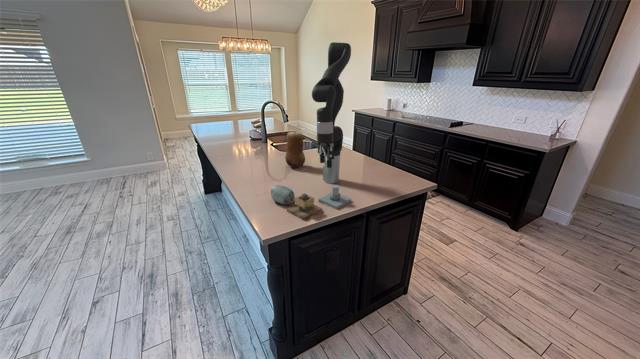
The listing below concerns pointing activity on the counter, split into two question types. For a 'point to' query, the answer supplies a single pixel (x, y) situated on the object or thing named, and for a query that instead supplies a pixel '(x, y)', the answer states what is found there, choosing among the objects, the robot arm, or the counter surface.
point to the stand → (304, 210)
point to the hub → (335, 198)
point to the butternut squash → (295, 150)
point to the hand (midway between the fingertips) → (325, 165)
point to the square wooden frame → (304, 203)
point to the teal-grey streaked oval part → (282, 195)
